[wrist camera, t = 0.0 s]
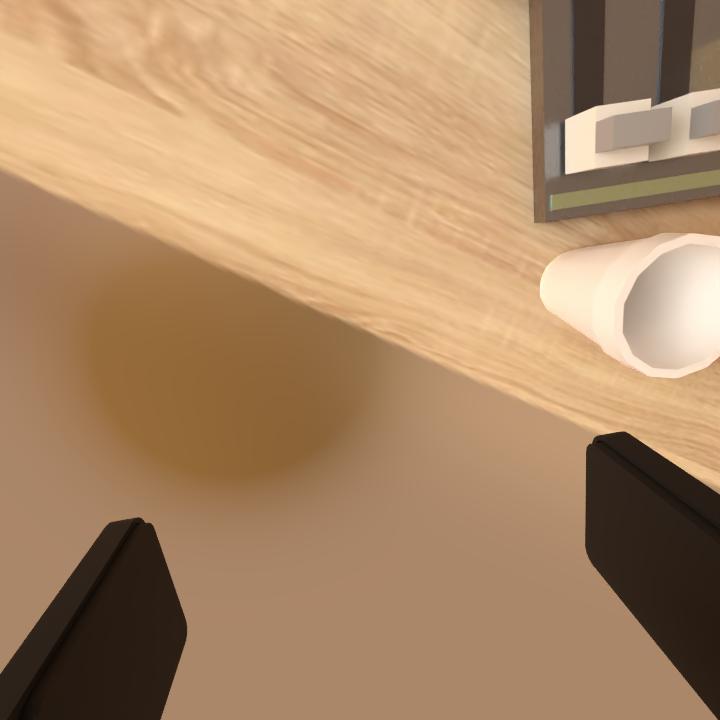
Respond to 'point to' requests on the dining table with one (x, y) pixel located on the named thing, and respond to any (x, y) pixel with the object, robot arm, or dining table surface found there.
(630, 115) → the breaker
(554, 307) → the foam cup
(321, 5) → the dining table surface
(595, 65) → the panel
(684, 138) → the breaker
